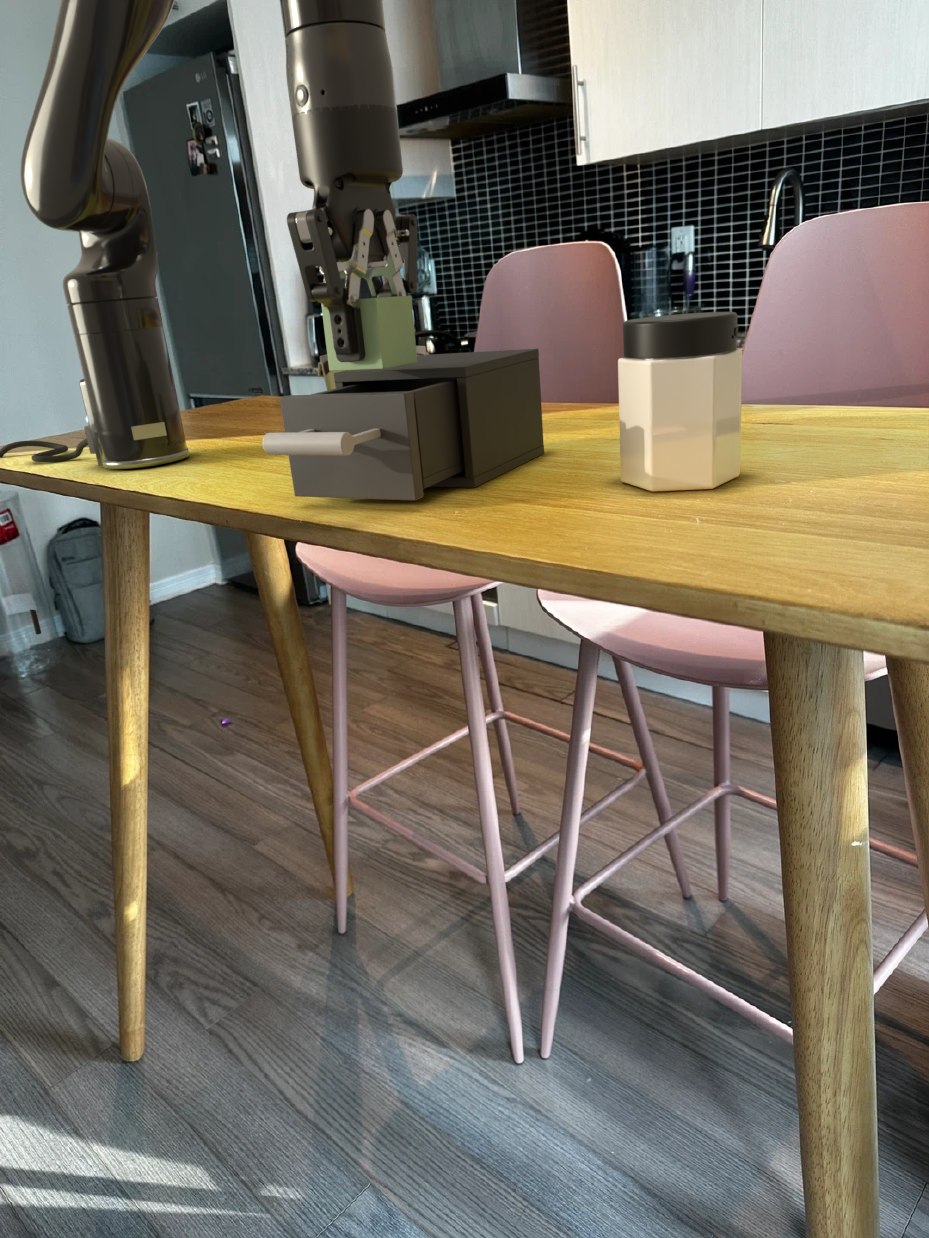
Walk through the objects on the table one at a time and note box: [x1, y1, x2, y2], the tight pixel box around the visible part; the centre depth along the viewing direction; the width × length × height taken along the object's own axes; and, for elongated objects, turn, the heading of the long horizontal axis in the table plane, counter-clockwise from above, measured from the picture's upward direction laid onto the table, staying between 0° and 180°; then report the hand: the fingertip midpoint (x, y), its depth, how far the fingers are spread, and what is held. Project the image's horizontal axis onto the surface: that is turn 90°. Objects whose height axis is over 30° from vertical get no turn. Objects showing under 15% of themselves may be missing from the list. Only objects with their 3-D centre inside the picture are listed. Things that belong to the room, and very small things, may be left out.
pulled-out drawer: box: [262, 378, 465, 501], centre depth 70 cm, size 19×11×8 cm, turn 152°
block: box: [320, 295, 417, 371], centre depth 68 cm, size 5×5×5 cm
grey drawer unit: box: [334, 348, 545, 489], centre depth 79 cm, size 15×13×10 cm
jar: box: [617, 311, 743, 492], centre depth 66 cm, size 9×8×12 cm
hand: (372, 356), depth 69 cm, fingers closed on block, 5 cm apart
